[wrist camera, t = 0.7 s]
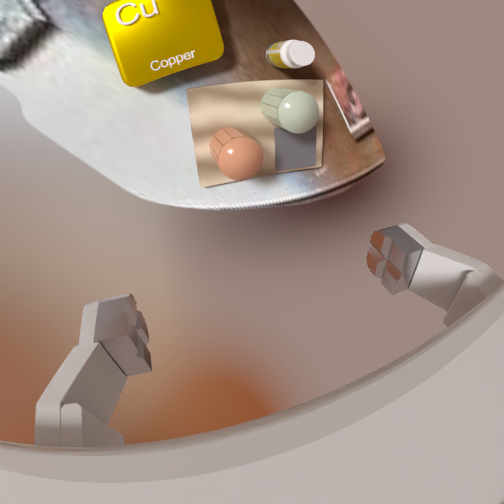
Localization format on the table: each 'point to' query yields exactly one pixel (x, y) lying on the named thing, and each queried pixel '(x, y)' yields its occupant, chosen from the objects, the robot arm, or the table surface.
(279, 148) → the charcoal mat
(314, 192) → the table surface
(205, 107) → the birch board
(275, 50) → the supplement bottle
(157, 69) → the element tile
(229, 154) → the terracotta cup
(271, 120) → the sage cup
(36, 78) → the table surface
